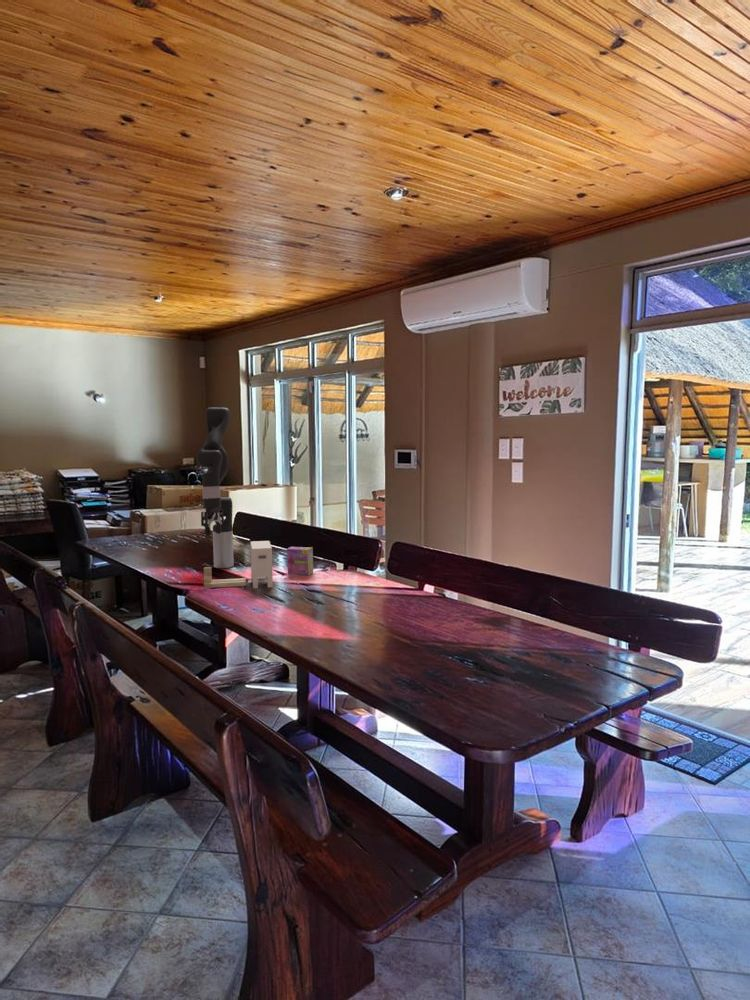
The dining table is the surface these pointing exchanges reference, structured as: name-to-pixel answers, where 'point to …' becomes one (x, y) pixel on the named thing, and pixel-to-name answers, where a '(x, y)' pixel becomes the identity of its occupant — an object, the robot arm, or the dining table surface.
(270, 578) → the notched block
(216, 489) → the robot arm
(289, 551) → the box
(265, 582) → the puck
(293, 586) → the dining table surface
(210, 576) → the stepped wooden block
